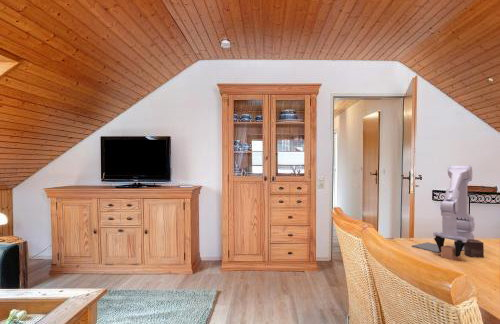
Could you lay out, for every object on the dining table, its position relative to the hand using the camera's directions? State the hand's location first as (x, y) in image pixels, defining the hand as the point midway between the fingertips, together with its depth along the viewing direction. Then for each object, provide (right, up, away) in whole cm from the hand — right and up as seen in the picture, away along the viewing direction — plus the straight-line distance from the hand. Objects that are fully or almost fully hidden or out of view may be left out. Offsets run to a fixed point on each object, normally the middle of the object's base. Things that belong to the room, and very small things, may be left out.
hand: (449, 254), depth 151 cm
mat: (+1, -2, +17) cm, 17 cm away
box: (+13, -2, +3) cm, 14 cm away
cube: (0, -2, 0) cm, 2 cm away
